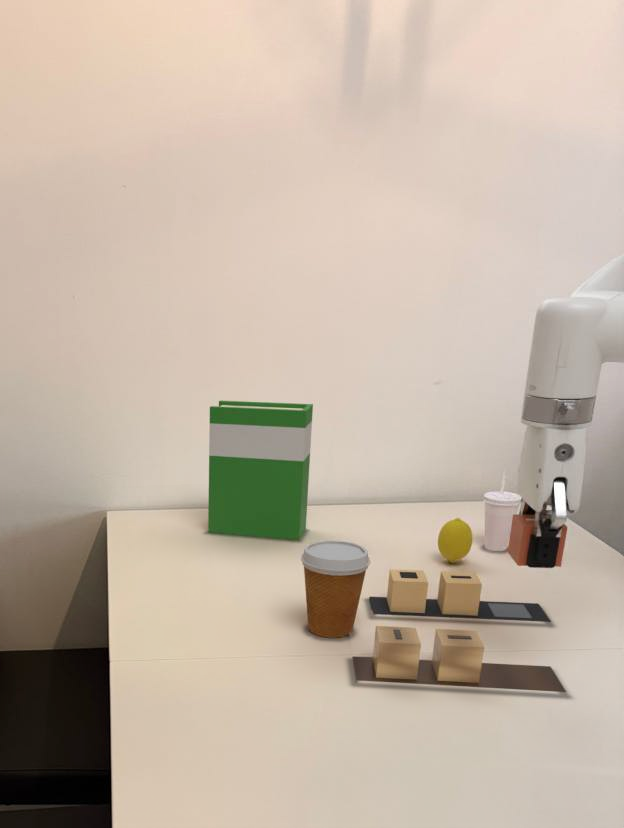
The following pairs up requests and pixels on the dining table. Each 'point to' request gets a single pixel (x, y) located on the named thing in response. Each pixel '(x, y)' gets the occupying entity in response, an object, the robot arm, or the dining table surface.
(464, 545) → the lemon
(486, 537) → the smoothie
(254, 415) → the hardback book
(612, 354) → the robot arm
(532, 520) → the block
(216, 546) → the dining table surface
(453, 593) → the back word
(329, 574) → the disposable coffee cup
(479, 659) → the front word
